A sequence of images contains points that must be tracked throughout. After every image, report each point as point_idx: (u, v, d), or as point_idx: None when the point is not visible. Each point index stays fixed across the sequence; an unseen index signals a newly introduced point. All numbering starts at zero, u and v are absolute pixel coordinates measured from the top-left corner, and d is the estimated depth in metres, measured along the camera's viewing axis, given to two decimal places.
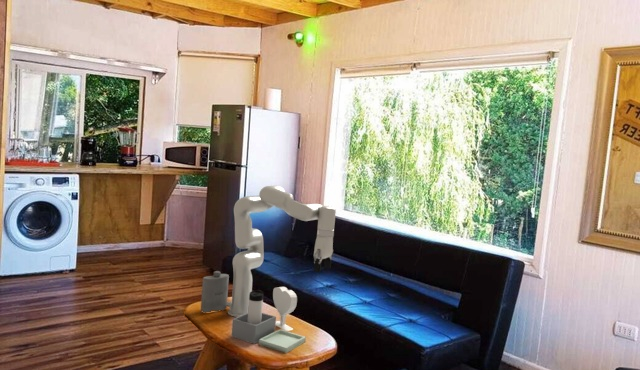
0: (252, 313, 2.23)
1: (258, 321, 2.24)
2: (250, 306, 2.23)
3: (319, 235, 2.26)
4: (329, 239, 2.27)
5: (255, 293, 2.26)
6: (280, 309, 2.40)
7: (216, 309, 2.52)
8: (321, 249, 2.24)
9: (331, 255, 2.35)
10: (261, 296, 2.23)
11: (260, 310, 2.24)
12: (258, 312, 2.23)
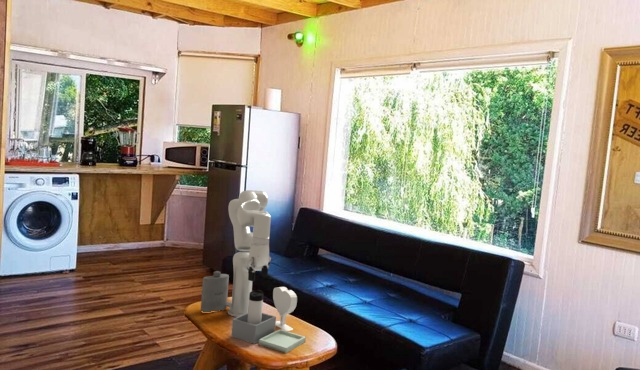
0: (252, 313, 2.23)
1: (258, 321, 2.24)
2: (250, 306, 2.23)
3: (253, 243, 2.21)
4: (264, 247, 2.22)
5: (255, 293, 2.26)
6: (280, 309, 2.40)
7: (216, 309, 2.52)
8: (255, 257, 2.19)
9: (268, 263, 2.29)
10: (261, 296, 2.23)
11: (260, 310, 2.24)
12: (258, 312, 2.23)
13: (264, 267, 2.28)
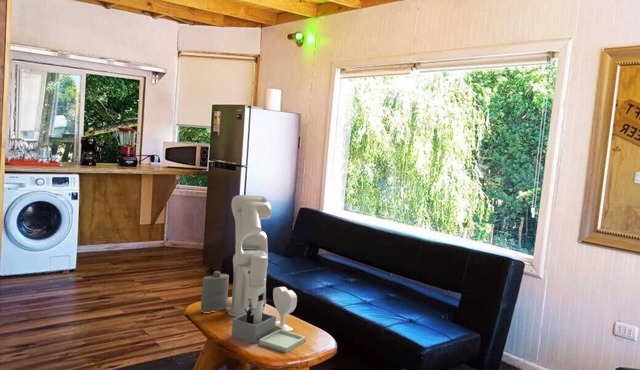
0: None
1: (258, 321, 2.24)
2: (250, 306, 2.23)
3: (250, 284, 2.22)
4: (260, 289, 2.23)
5: None
6: (280, 309, 2.40)
7: (216, 309, 2.52)
8: (252, 299, 2.20)
9: (263, 305, 2.30)
10: (261, 296, 2.24)
11: (260, 310, 2.24)
12: (259, 311, 2.23)
13: None
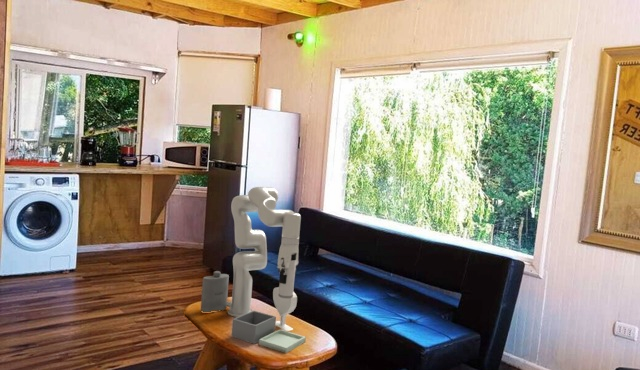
0: None
1: (291, 281, 2.16)
2: (283, 265, 2.16)
3: (283, 243, 2.15)
4: (293, 248, 2.16)
5: None
6: (280, 309, 2.40)
7: (216, 309, 2.52)
8: (285, 258, 2.13)
9: None
10: (294, 255, 2.16)
11: (293, 270, 2.16)
12: (292, 271, 2.16)
13: None
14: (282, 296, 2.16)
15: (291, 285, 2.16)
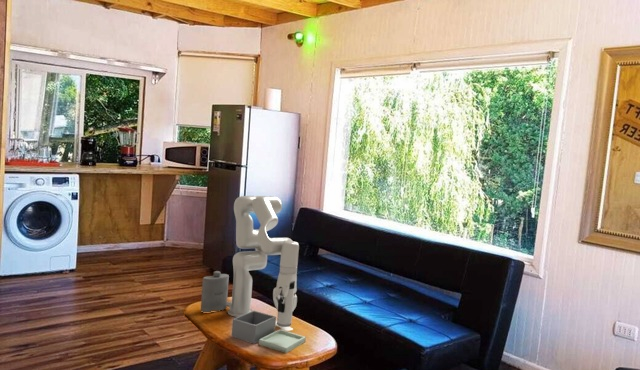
0: None
1: (289, 310, 2.17)
2: (281, 294, 2.16)
3: (281, 272, 2.16)
4: (292, 276, 2.16)
5: None
6: None
7: (216, 309, 2.52)
8: (283, 287, 2.14)
9: (294, 294, 2.23)
10: (293, 284, 2.17)
11: (292, 298, 2.17)
12: (290, 300, 2.16)
13: None
14: (280, 325, 2.17)
15: (289, 313, 2.17)
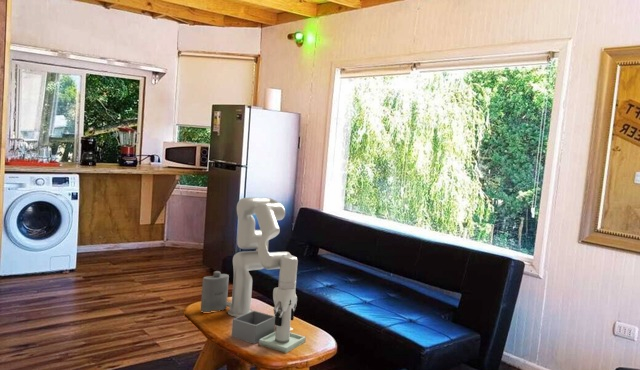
0: None
1: (287, 326, 2.18)
2: None
3: (280, 287, 2.16)
4: (290, 291, 2.17)
5: None
6: None
7: (216, 309, 2.52)
8: (282, 301, 2.14)
9: (294, 306, 2.25)
10: (290, 300, 2.17)
11: (289, 314, 2.18)
12: (287, 316, 2.17)
13: None
14: (279, 341, 2.18)
15: (287, 330, 2.18)
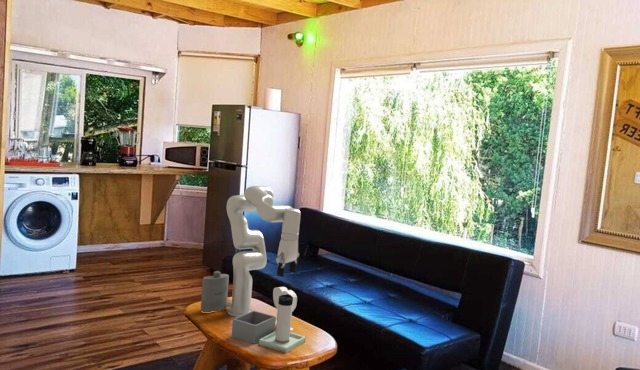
0: (281, 318, 2.17)
1: (288, 326, 2.18)
2: (280, 311, 2.17)
3: (283, 238, 2.20)
4: (293, 243, 2.21)
5: (284, 297, 2.20)
6: None
7: (216, 309, 2.52)
8: (284, 252, 2.18)
9: (297, 259, 2.29)
10: (291, 300, 2.18)
11: (290, 315, 2.18)
12: (288, 316, 2.17)
13: (292, 262, 2.28)
14: (279, 341, 2.18)
15: (288, 330, 2.18)
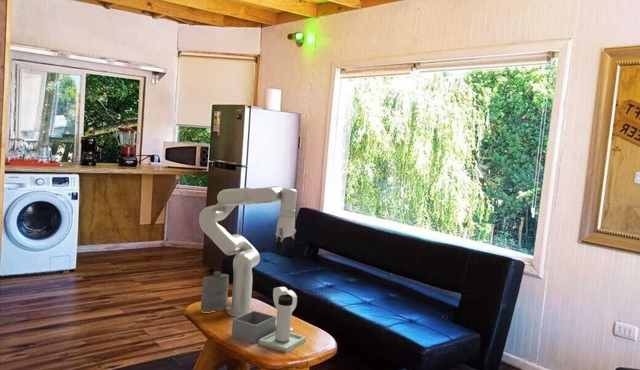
0: (281, 318, 2.17)
1: (288, 326, 2.18)
2: (279, 311, 2.17)
3: (281, 215, 2.42)
4: (290, 219, 2.43)
5: (284, 297, 2.20)
6: None
7: (216, 309, 2.52)
8: (283, 228, 2.40)
9: (294, 234, 2.51)
10: (291, 300, 2.17)
11: (290, 315, 2.18)
12: (288, 316, 2.17)
13: (290, 238, 2.50)
14: (279, 341, 2.18)
15: (287, 330, 2.18)
